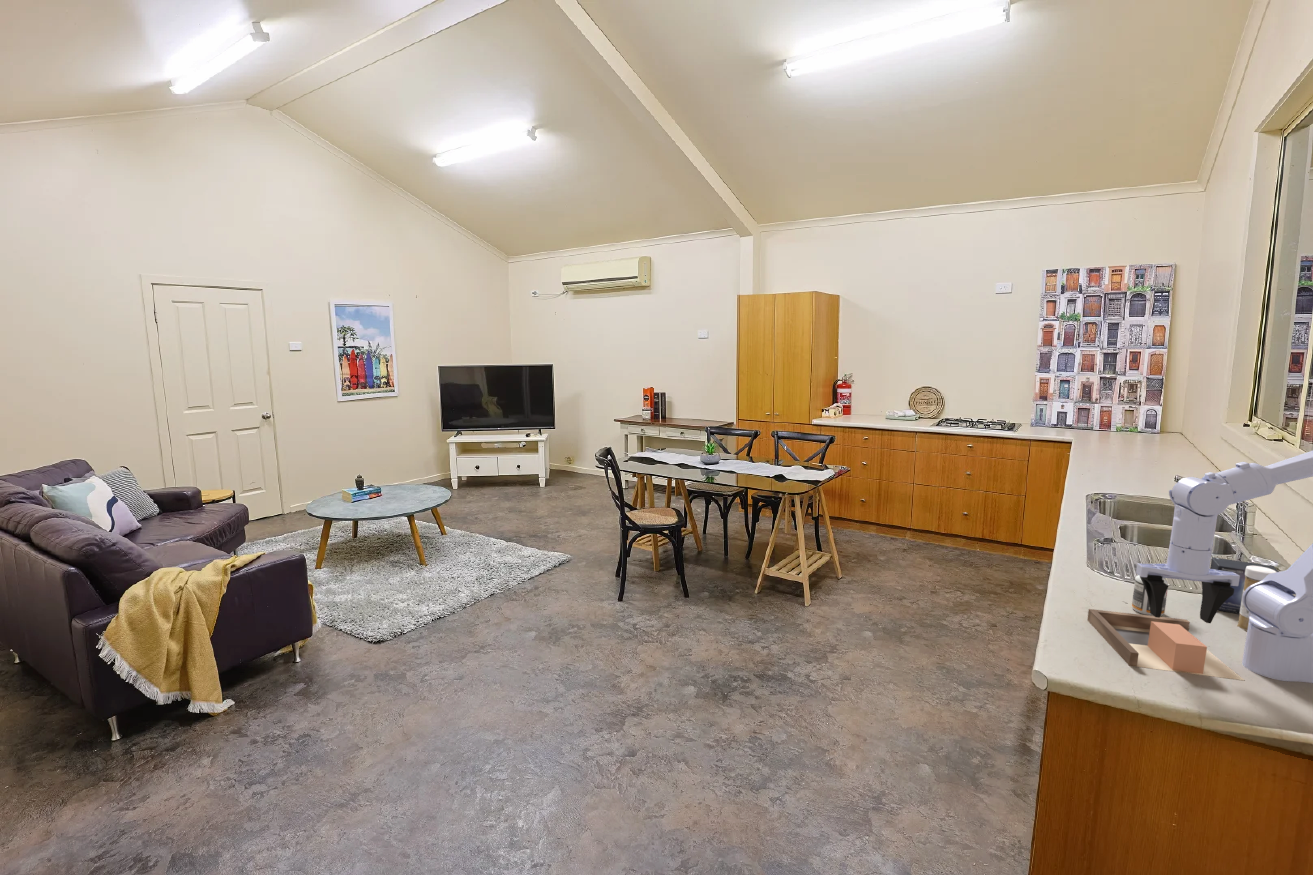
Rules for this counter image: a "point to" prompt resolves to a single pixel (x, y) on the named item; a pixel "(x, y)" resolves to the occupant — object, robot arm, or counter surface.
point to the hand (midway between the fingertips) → (1179, 618)
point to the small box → (1239, 568)
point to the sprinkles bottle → (1252, 577)
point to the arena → (1146, 641)
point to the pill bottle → (1144, 598)
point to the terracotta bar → (1177, 647)
